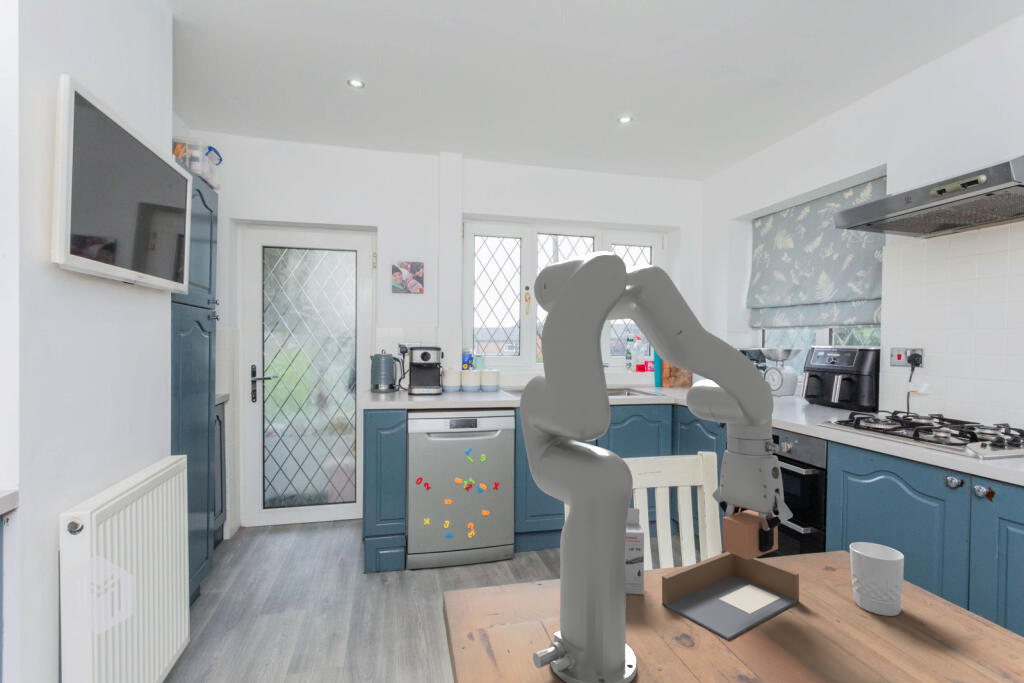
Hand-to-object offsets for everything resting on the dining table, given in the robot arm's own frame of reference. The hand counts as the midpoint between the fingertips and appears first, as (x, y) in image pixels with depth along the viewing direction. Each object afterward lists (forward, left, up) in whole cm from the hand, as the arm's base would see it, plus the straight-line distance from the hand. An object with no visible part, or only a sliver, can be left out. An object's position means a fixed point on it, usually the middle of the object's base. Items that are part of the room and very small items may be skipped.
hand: (750, 543), depth 89 cm
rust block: (0, 0, -1) cm, 1 cm away
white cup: (+17, -13, -11) cm, 24 cm away
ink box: (-17, +17, -11) cm, 26 cm away
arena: (-4, +3, -10) cm, 11 cm away
